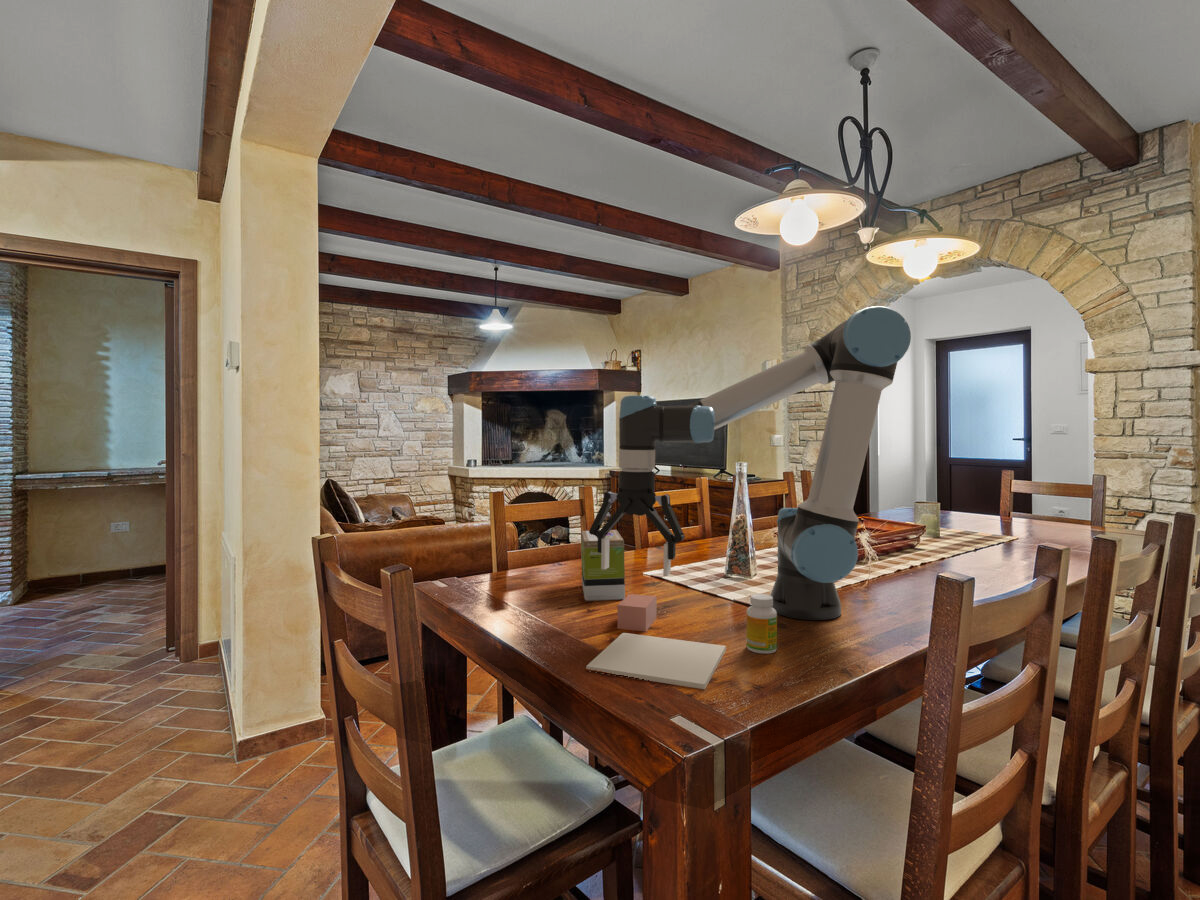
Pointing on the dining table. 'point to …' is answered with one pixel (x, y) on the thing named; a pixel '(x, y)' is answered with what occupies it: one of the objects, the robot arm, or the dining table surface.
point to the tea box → (602, 581)
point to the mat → (660, 660)
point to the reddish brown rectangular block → (636, 612)
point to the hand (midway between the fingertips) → (635, 571)
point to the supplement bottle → (761, 625)
